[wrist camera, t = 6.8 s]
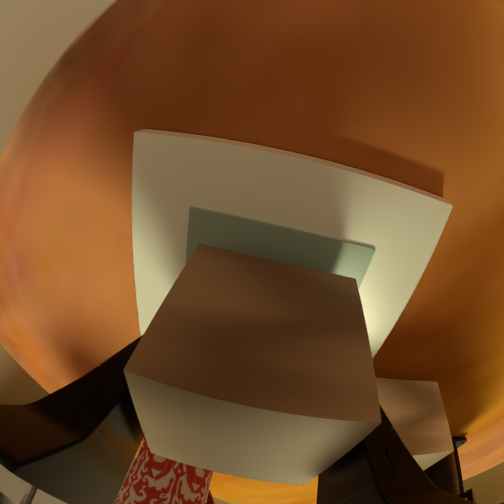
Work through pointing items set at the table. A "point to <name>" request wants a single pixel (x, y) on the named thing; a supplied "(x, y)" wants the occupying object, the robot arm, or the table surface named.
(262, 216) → the plate
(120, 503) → the mug
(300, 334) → the walnut cube
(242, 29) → the table surface
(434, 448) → the maple cube
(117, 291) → the table surface
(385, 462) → the robot arm
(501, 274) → the table surface
